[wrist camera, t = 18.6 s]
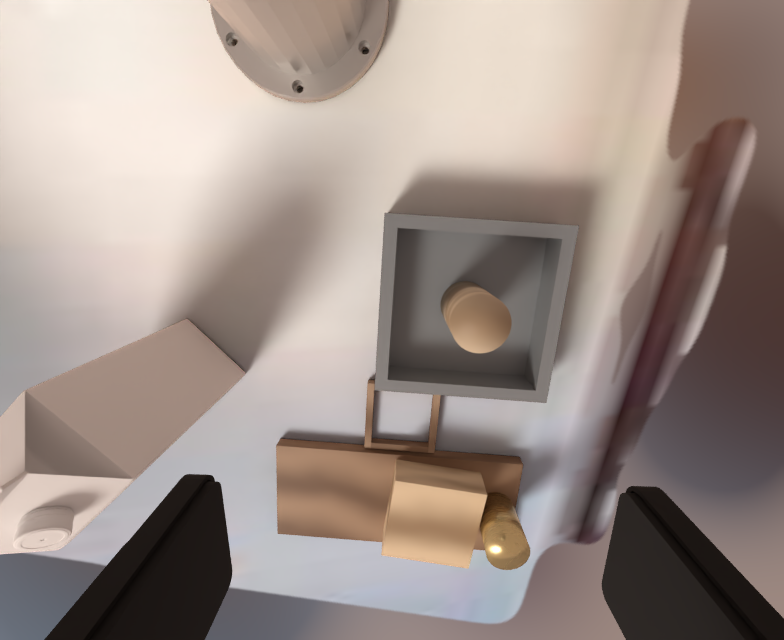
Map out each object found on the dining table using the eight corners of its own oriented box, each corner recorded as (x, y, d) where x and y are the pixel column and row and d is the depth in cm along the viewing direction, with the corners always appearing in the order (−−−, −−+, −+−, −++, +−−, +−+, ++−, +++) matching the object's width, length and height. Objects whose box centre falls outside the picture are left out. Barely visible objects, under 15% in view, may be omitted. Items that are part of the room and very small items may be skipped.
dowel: (444, 278, 31) (456, 291, 24) (491, 284, 31) (517, 298, 24) (437, 324, 32) (446, 349, 25) (483, 330, 32) (505, 356, 25)
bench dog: (477, 490, 36) (489, 532, 31) (515, 493, 36) (533, 536, 31) (473, 522, 37) (483, 568, 32) (510, 525, 37) (526, 571, 32)
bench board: (280, 438, 36) (276, 445, 35) (519, 456, 36) (523, 464, 35) (281, 524, 39) (277, 533, 38) (504, 542, 38) (507, 552, 37)
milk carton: (140, 367, 35) (-153, 528, 17) (188, 317, 34) (-74, 432, 15) (198, 418, 36) (-15, 622, 18) (247, 372, 35) (70, 541, 16)
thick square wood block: (396, 459, 35) (395, 480, 32) (480, 472, 35) (487, 495, 32) (383, 529, 37) (381, 555, 34) (463, 541, 37) (468, 568, 34)
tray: (386, 213, 31) (384, 212, 27) (559, 225, 30) (579, 225, 27) (377, 373, 34) (374, 390, 31) (531, 384, 34) (546, 402, 31)
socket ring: (368, 379, 34) (367, 383, 34) (440, 384, 34) (441, 388, 34) (365, 443, 36) (364, 448, 35) (433, 448, 36) (434, 453, 35)
